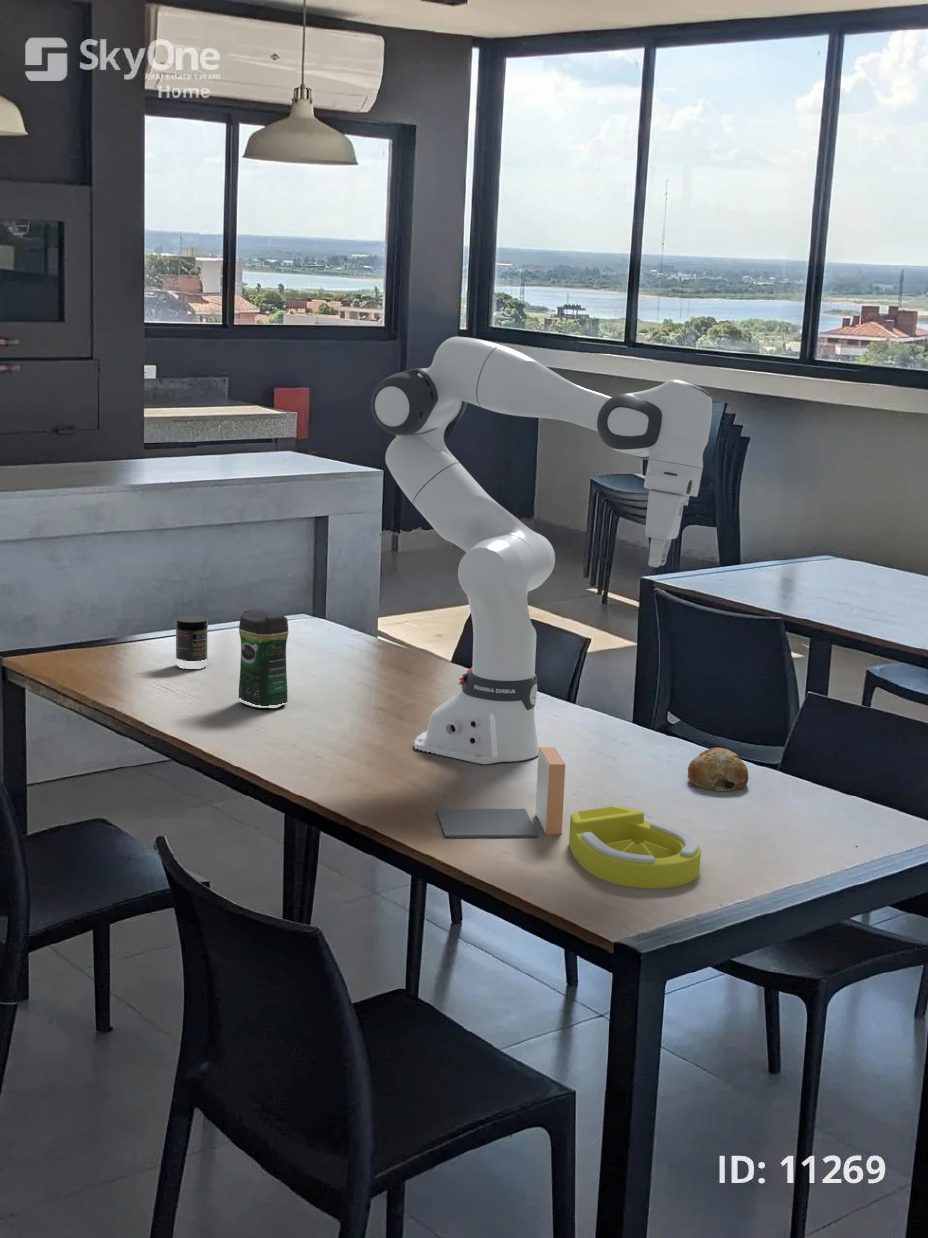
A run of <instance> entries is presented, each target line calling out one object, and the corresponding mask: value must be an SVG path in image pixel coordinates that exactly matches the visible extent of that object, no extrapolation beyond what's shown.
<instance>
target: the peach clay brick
mask: <svg viewBox="0 0 928 1238" xmlns="http://www.w3.org/2000/svg"><path fill="white" fill-rule="evenodd" d="M537 757H538V758H537V773H536V774H537V777H536V794H535V795H536V796H535V816H536V818H537V819H538V821H539V824H540V825H541V828H542V830H543V832H544V833H545V835H562V834H563V833H562V832H563V817H564V816H563V815H564V798H565V796H564V795H565V780H566V779H565V777H566V763H565V761H564V760H563V758H562V757H561V756H560V754H559V752H558V751H557V749H556V747H555V746H545V747H544V746H539V751H538V755H537Z"/></svg>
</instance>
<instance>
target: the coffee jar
mask: <svg viewBox="0 0 928 1238" xmlns="http://www.w3.org/2000/svg"><path fill="white" fill-rule="evenodd" d="M288 622H289V620H288V617H286V616H285V615H284V614H279V613H275V612H272V611H268V610H263V609H259V608H258V609H251V610H244V611H243V613H242V614H241V615H240V619H239V624H238V631H239V638H240V668H239V682H238V683H239V684H238V699H239V698H241V699H242V700H244V701H247V702H250V703H252V704H255V705H261V706H269V705H278V704H282V703H286V702H287V703H288V701H289V700H288V698H289V697H288V678H287V677H288V676H287V675H288V674H287V672H288V671H287V641H288V637H289V623H288Z"/></svg>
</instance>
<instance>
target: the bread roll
mask: <svg viewBox="0 0 928 1238" xmlns="http://www.w3.org/2000/svg"><path fill="white" fill-rule="evenodd" d="M687 778H688V780H689V781H690V783H691V784H692V785H694V786H696V787H698V788H699V789H704V790H707V791H715V792H718V793H721V792H733V791H740V790H744V789H745V788H746V786H747V784H748V782H749V771H748V766H746V763H745V762H744V761H743V760H742V759H741V758H740V757H739V754H737V753H735V752H733V751H731V750H730V749H727V748H725V747H724V748H723V747H720V746H719V747H710V748H709V749H706V750H704V751H702V752H700V754H698V755H697V756H696V757H695V758H693V759H692V760H690V762H689V764H688V767H687Z"/></svg>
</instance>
